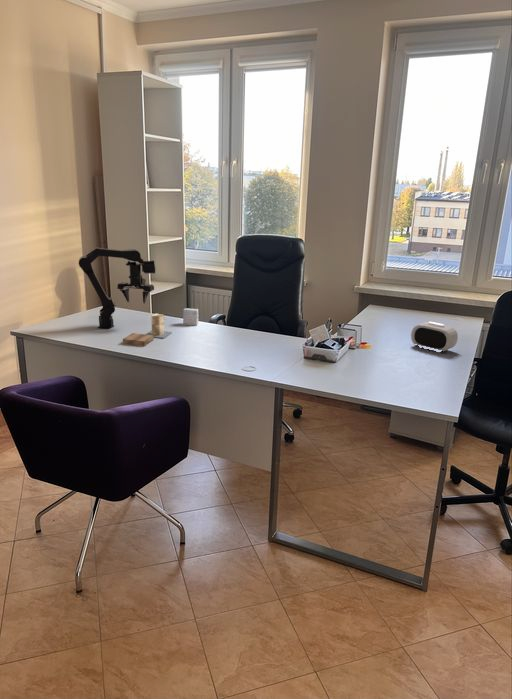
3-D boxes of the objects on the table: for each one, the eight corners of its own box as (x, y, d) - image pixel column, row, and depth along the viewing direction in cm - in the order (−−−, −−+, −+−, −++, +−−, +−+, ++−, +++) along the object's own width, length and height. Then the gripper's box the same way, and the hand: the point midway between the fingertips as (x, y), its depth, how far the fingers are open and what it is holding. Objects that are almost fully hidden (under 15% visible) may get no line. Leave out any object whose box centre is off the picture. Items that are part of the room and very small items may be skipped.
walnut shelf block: (123, 344, 243) (122, 339, 242) (132, 337, 253) (132, 333, 252) (144, 346, 241) (144, 341, 240) (153, 340, 251) (153, 335, 250)
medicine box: (198, 323, 285) (198, 308, 282) (196, 325, 280) (196, 310, 278) (184, 323, 285) (184, 308, 283) (182, 324, 281) (182, 309, 278)
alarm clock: (408, 346, 261) (412, 320, 257) (417, 342, 268) (420, 318, 264) (447, 355, 248) (452, 329, 244) (455, 351, 255) (459, 326, 251)
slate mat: (143, 336, 256) (143, 335, 256) (152, 331, 266) (152, 330, 266) (164, 338, 254) (164, 337, 254) (171, 333, 264) (171, 332, 264)
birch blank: (151, 334, 259) (151, 315, 256) (156, 332, 263) (155, 313, 260) (159, 335, 257) (159, 316, 254) (163, 333, 261) (163, 314, 258)
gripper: (157, 272, 271) (158, 301, 276) (125, 270, 275) (126, 298, 280) (149, 275, 261) (150, 305, 266) (116, 273, 265) (117, 302, 269)
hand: (136, 302), depth 270 cm, fingers open, 9 cm apart
